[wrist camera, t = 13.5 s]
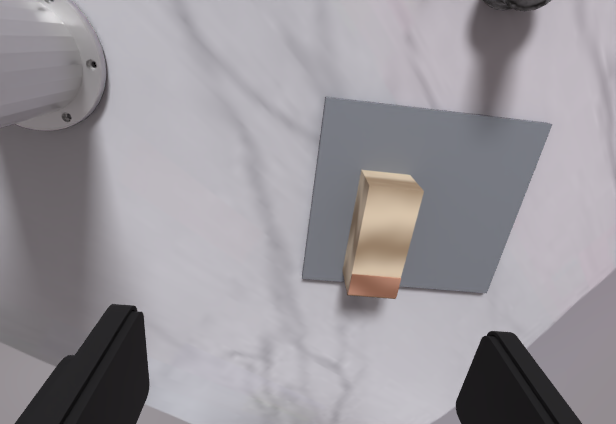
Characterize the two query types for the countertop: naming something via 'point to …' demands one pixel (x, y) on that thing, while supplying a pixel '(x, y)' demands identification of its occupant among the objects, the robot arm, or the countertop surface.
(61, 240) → the countertop surface
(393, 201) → the beige brown block
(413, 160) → the slate mat
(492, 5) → the grey chess piece
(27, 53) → the robot arm
